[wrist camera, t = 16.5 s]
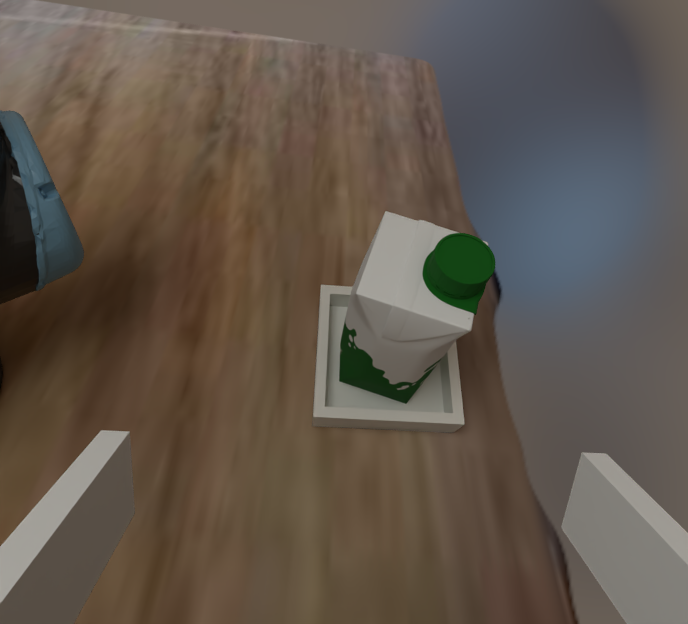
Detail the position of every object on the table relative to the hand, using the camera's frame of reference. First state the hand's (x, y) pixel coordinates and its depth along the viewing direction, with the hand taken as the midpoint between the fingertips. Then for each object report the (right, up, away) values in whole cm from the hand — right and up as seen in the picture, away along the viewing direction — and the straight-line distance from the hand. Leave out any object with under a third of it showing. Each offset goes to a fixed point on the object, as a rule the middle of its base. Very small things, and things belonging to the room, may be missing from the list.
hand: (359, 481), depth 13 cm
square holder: (+4, 0, +34) cm, 34 cm away
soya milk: (+3, 0, +33) cm, 33 cm away
